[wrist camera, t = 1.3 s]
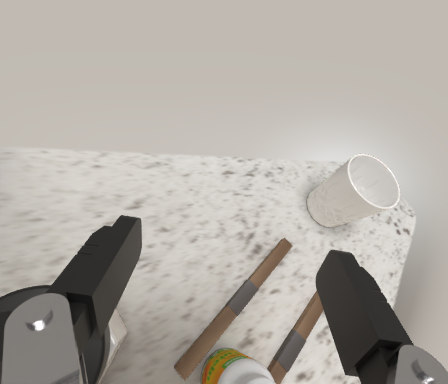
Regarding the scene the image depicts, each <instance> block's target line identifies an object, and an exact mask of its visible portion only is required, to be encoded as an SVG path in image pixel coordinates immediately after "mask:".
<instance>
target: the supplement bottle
mask: <svg viewBox="0 0 448 384" xmlns="http://www.w3.org/2000/svg"><path fill="white" fill-rule="evenodd" d="M201 384H276V383H275V382H274V379H273V377H272V375H271V374H270V372H269V371H268V370H267V368H266V367H264V366H263V365H262V364H261V363H259V362H258V361H256V360H254V359H252V358H250V357H248V356H246V355H244V354H242V353H240V352H238V351H236V350H234V349H231V348H223V349H219V350H217V351H215V352H214V353H213V354H212V355H211V356H210V357H209V358H208V359H207V361H206V363H205V365H204V367H203V370H202V375H201Z"/></svg>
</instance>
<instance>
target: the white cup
mask: <svg viewBox="0 0 448 384" xmlns="http://www.w3.org/2000/svg"><path fill="white" fill-rule="evenodd" d="M399 199H400V189H399V185H398V182H397V180H396V178H395V176H394V175H393V173H392V172H391V171H390V169H389V168H388V167H387V166H386V165H385V164H384V163H382V162H381V161H380V160H378V159H377V158H375V157H373V156H370V155H366V154H358V155H355V156H353V157H352V158H351V159H350V160H349V161H347V162H346V163H344V164H343V165H342V166H341V167H340V168H338V169H337V170H336V171H335V172H333V173H332V174H331V175H330V176H329V177H328V178H326V179H325V180H324V181H323V182H322V183H321V184H320V185H319V186H318V187H317V188H316V189H314V190H313V191H312V192H311V193H309V196H308V199H307V207H308V211H309V212H310V214H311V216H312V218H313V219H314V220H315V221H317V222H318V223H319V224H320V225H323V226H326V227H328V228H329V227H336V226H339V225H342V224H346V223H349V222H352V221H355V220H358V219H362V218H365V217H368V216H370V215H373V214H376V213H379V212H382V211H384V210H387V209H390V208H393V207H394V206H396V205H397V203H398V202H399Z"/></svg>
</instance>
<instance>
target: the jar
mask: <svg viewBox="0 0 448 384" xmlns="http://www.w3.org/2000/svg"><path fill="white" fill-rule="evenodd" d="M50 287H51V285H40V286H33V287H28V288H23V289H20V290H17V291H14V292H11V293H9V294H7V295H4V296H2V297H0V312H6V311H11V310H15V309H16V308H17V307H18V306H20V305H21V304H22V303H24V302H25V301H27V300H29V299H31V298H33V297H35V296H38V295H42V294H44V293H45V292H46V291H47V290H48V289H49V288H50ZM127 333H128V331H127V329H126V327H125V325H124V323H123V321H122V319H121V317H120V315H119V314H118V312H117V310H116V308H115V310H114V313H113V315H112V317H111V319H110V321H109V323H108V325H107V327H106V330H105V332H104V334H103V336H102V338H101V340H97V339H89V341H88V343H87V345H86V347H85V349H84V351H83V357H84V363H85V369H86V374H87V380H88V384H99V383H100V382H101V380H102V378H103V377H104V375H105V373H106V371H107V369H108V367H109V366H110V364H111V362H112V360H113V358H114V357H115V355H116V353H117V351H118V349H119V347H120V346H121V344H122V342H123V340H124V338H125V336H126V335H127Z"/></svg>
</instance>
